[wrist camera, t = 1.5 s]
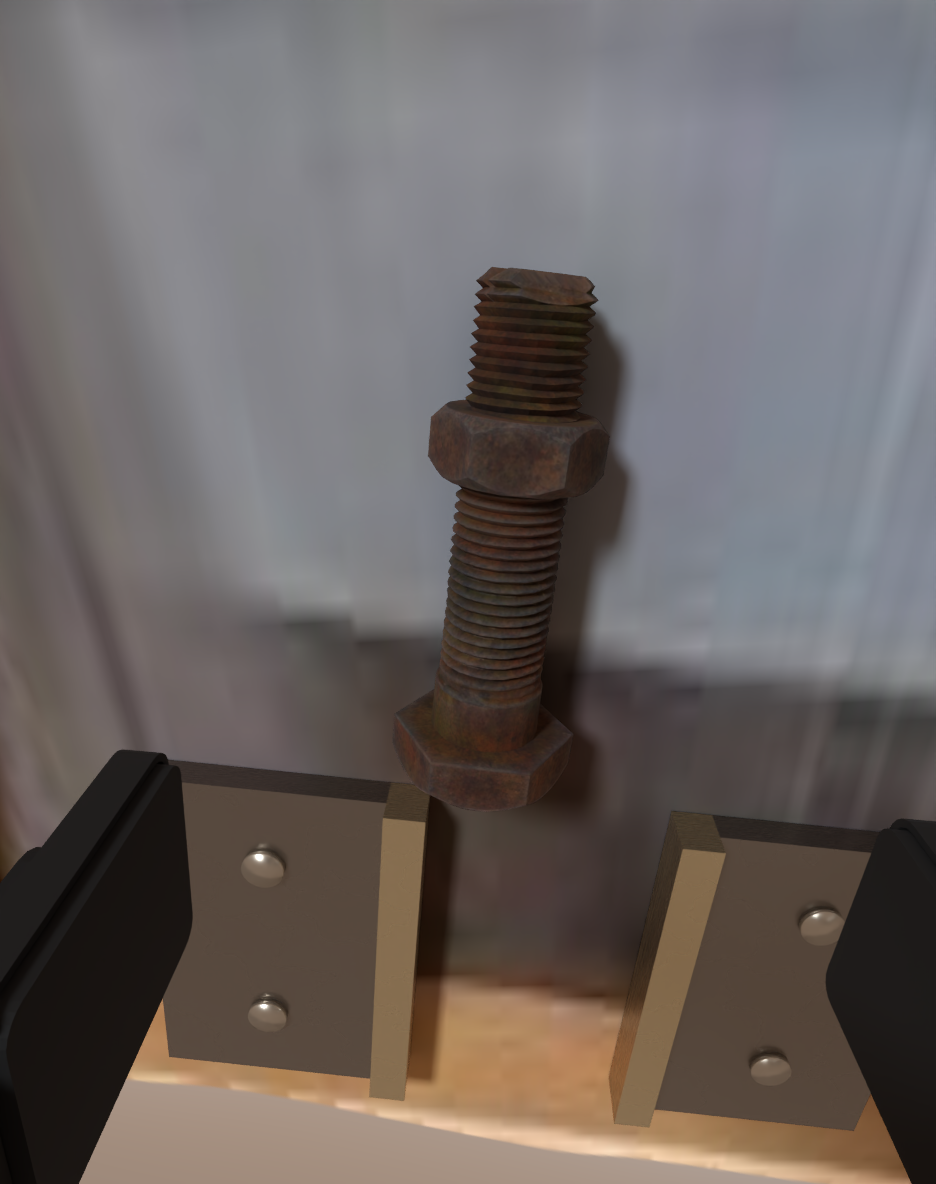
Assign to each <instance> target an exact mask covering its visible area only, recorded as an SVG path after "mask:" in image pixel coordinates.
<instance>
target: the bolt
mask: <svg viewBox="0 0 936 1184" xmlns="http://www.w3.org/2000/svg"><path fill="white" fill-rule="evenodd" d="M476 281H477V282H478V283H479V284H480V285H481V286H482V287H483V289H481V290H480V291H478V292H477V293H476V294H475V295H476V296H477V297H478V298H479V299H480V300H481V301H482V302H481V303H479V304H477V305H475V306H474V307H475V309H476V310H477V311H478V313H479V314H480V316H479V317H477V318H475V319H474V320H473V321H474V322H475V324H476V325H477V326H478V328H479V329H478V330H476V331H474V332H473V333H471V334H472V335H473V336H474V337H475V339H476V340H477V341H478V342H477V343H475V344H474V345H472V346H470V347H471V349H472V350H473V351H474V352H475V353H476V354H477V355H476V356H474V357H472V358H471V359H469V360H470V361H471V362H472V364H473V365H474V366H475V367H476V368H474V369H473V370H471V371H469V372H468V374H469V375H470V376H471V377H472V379H473V380H474V381H472V382H471V383H469V384H467V387H468V388H469V389H470V390H471V391H472V394H470V395H468V396H467V397H466V400H458V401H451V402H449V403H447V404H445V405H444V406H443V407H442V408H441V409H440V410H439V411H438V412H436V413H435V414H434V415H433V416H432V417H431V426H430V439H429V451H428V457H429V458H430V460H431V462H432V463H433V465H434V466H435V468H436V470H437V471H438V472H439V474H440V475H441V476H442V477H443V478H445V479H446V480H448V481H450V482H452V483H454V484H457V485H459V486H460V487H461V488H462V489H460V490H459V491H457V492H456V496H457V497H458V498H459V499H460V501H458V502H456V504H455V508H456V509H457V510H458V511H459V512H457V513H455V515H454V519H455V520H456V521H457V523H456V524H454V526H453V531H454V532H455V533H456V534H455V535H454V536H452V539H451V540H452V542H453V543H454V545H453V547H452V548H451V549H450V551H451V553H452V554H453V555H452V557H451V558H450V560H449V562H450V564H451V565H452V566H451V567H450V569H449V571H448V573H449V575H450V577H449V579H448V586H449V587H448V588H447V591H448V598H447V600H446V602H447V607H446V610H445V614H446V617H445V619H444V629H443V640H442V643H441V644H442V650H441V659H440V667H439V668H438V670H437V672H436V679H435V689H434V690H432V691H430V692H429V693H427V694H426V695H424V696H422V697H421V698H419V699H417V700H416V701H414V702H413V703H411V704H409V705H408V706H406V707H405V708H403V709H401V710H400V711H398V712H396V713H395V714H394V727H393V742H392V743H393V745H394V748H395V751H396V753H397V756H398V759H399V761H400V763H401V765H402V767H403V769H404V770H405V772H406V774H407V775H408V777H409V779H410V780H411V781H412V783H413V784H414V785H415V786H416V787H417V788H419V789H420V790H422V791H423V792H425V793H427V794H429V795H431V796H433V797H435V798H437V799H439V800H441V801H444V802H446V803H448V804H451V805H453V806H456V807H459V808H462V809H467V810H473V811H486V812H487V811H500V810H507V809H512V808H516V807H521V806H526V805H529V804H532V803H535V802H536V801H538V800H539V799H541V798H542V797H543V796H544V795H545V794H546V793H547V792H548V791H549V790H550V789H551V788H552V787H553V785H554V784H555V783H556V781H557V780H558V779H559V777H560V776H561V774H562V772H563V771H564V769H565V767H566V766H567V764H568V762H569V756H570V751H571V745H572V740H573V733H572V732H570V731H569V730H568V729H567V728H566V727H565V726H564V725H563V724H562V723H561V722H560V721H559V720H557V719H556V718H555V717H554V716H553V715H552V714H551V713H550V712H549V711H548V710H547V709H546V708H544V707H543V706H542V705H541V704H540V702H541V694H542V686H543V685H542V681H541V673H542V670H543V667H542V665H543V661H544V653H545V650H546V648H545V645H546V638H547V633H548V631H549V628H548V624H549V622H550V614H551V610H552V602H553V592H554V590H555V584H554V582H555V581H556V578H557V577H556V575H555V572H556V571H557V569H558V563H557V562H558V560H559V557H560V555H559V552H558V551H559V550H560V548H561V543H560V541H559V540H560V539H561V538H562V536H563V534H562V531H561V528H562V527H563V525H564V521H563V519H562V517H564V515H565V513H566V511H565V509H564V507H563V506H565V505H566V504H567V498H568V497H576V496H579V495H582V494H584V493H586V492H588V491H589V490H590V489H591V488H592V487H593V486H594V485H595V484H596V483H597V482H598V481H599V480H600V478H601V477H602V476H603V474H604V468H605V462H606V456H607V450H608V444H609V438H610V436H609V435H608V433H607V432H606V430H605V429H604V428H603V426H602V425H601V423H600V422H599V421H598V420H597V419H596V418H594V417H591V416H589V415H586V414H583V413H579V412H575V411H576V410H577V409H579V408H580V407H582V403H580V402H579V401H578V400H577V399H576V398H578V397H579V396H581V395H582V394H584V391H583V390H582V389H581V388H580V387H579V385H580V384H581V383H583V382H584V381H586V379H585V378H584V377H583V376H582V375H581V374H580V373H581V372H582V371H584V370H585V369H586V368H587V365H586V364H584V363H583V362H582V360H583V359H584V358H585V357H587V356H588V355H589V352H588V351H587V350H586V349H584V348H583V347H585V346H586V345H587V344H588V343H589V342H591V339H590V338H589V337H588V336H587V335H586V333H587V332H588V331H590V330H591V329H592V328H593V327H594V326H593V325H592V324H591V323H590V322H589V321H588V319H590V318H591V317H593V316H594V315H595V314H596V312H595V311H593V310H592V309H591V308H590V307H589V306H591V305H592V304H594V303H595V302H597V301H598V299H597V298H596V297H595V296H594V295H593V294H592V291H593V289H594V287H595V286H594V285H593V284H592V282H591V281H590V280H589V279H588V278H586V277H583V276H575V275H567V274H560V273H552V272H543V271H535V270H527V269H517V268H508V269H505V268H496V267H491V268H490V269H489V270H488V271H487V272H486V273H485V274H484V275H483V276H482V277H480V278H479V279H478V280H476Z"/></svg>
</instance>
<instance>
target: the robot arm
mask: <svg viewBox="0 0 936 1184" xmlns="http://www.w3.org/2000/svg"><path fill="white" fill-rule="evenodd" d="M192 921H193V911H192V899H191V887H190V875H189V863H188V851H187V839H186V827H185V815H184V803H183V791H182V779H181V772H180V769H179V767H178V766H176V765H169V763H168V759H167V757H166V755H165V754H163V753H156V752H144V751H133V750H119V751H117V752H116V753H115V754H114V755H113V756H112V757H111V759H110V760H109V761H108V762H107V764H106V765H105V766H104V768H103V769H102V770H101V771H100V773H99V774H98V775H97V777H96V778H95V779H94V780H93V782H92V783H91V784H90V786H89V787H88V788H87V789H86V791H85V792H84V793H83V795H82V796H81V797H80V798H79V800H78V801H77V802H76V804H75V805H74V806H73V808H72V809H71V810H70V811H69V813H68V814H67V815H66V817H65V818H64V819H63V820H62V822H61V823H60V824H59V826H58V827H57V828H56V829H55V831H54V832H53V833H52V835H51V836H50V837H49V838H48V840H47V841H46V842H45V844H44V845H43V846H42V847H35V848H33V849H31V850H29V851H27V852H26V853H25V854H24V855H23V856H22V857H21V858H20V859H19V860H18V861H17V863H16V864H15V865H14V866H13V868H12V869H11V870H10V871H9V873H8V874H7V875H6V876H5V878H4V879H3V880H2V881H1V883H0V1184H79V1182H80V1180H81V1178H82V1175H83V1173H84V1171H85V1169H86V1166H87V1164H88V1162H89V1160H90V1158H91V1155H92V1153H93V1151H94V1149H95V1147H96V1144H97V1142H98V1140H99V1138H100V1135H101V1133H102V1131H103V1129H104V1127H105V1124H106V1122H107V1120H108V1118H109V1116H110V1113H111V1111H112V1109H113V1107H114V1104H115V1102H116V1100H117V1098H118V1096H119V1093H120V1091H121V1089H122V1087H123V1085H124V1082H125V1080H126V1078H127V1076H128V1074H129V1071H130V1069H131V1067H132V1065H133V1063H134V1060H135V1058H136V1056H137V1054H138V1052H139V1049H140V1047H141V1045H142V1043H143V1040H144V1038H145V1036H146V1034H147V1032H148V1029H149V1027H150V1025H151V1023H152V1021H153V1018H154V1016H155V1014H156V1012H157V1010H158V1007H159V1005H160V1003H161V1001H162V999H163V996H164V994H165V992H166V990H167V987H168V985H169V983H170V981H171V979H172V976H173V974H174V972H175V970H176V968H177V965H178V963H179V961H180V959H181V957H182V954H183V952H184V950H185V948H186V945H187V943H188V940H189V937H190V933H191V928H192ZM825 982H826V991H827V996H828V999H829V1001H830V1004H831V1006H832V1008H833V1011H834V1013H835V1015H836V1017H837V1019H838V1022H839V1024H840V1026H841V1028H842V1031H843V1033H844V1035H845V1037H846V1039H847V1042H848V1044H849V1046H850V1048H851V1050H852V1053H853V1055H854V1057H855V1059H856V1062H857V1064H858V1066H859V1068H860V1070H861V1073H862V1075H863V1077H864V1079H865V1081H866V1084H867V1086H868V1088H869V1090H870V1092H871V1095H872V1097H873V1099H874V1101H875V1104H876V1106H877V1108H878V1110H879V1112H880V1115H881V1117H882V1119H883V1121H884V1123H885V1126H886V1128H887V1130H888V1132H889V1134H890V1137H891V1139H892V1141H893V1143H894V1146H895V1148H896V1150H897V1152H898V1154H899V1157H900V1159H901V1161H902V1163H903V1165H904V1168H905V1170H906V1172H907V1174H908V1177H909V1179H910V1181H911V1183H912V1184H936V822H934V821H923V820H912V819H898V820H896V821H895V822H894V823H893V824H892V825H891V827H890V829H883V830H882V831H881V832H880V833H879V835H878V837H877V839H876V842H875V845H874V847H873V850H872V852H871V855H870V858H869V860H868V863H867V866H866V868H865V871H864V874H863V876H862V879H861V881H860V884H859V887H858V889H857V892H856V895H855V897H854V900H853V902H852V905H851V908H850V910H849V913H848V916H847V918H846V921H845V924H844V926H843V929H842V931H841V934H840V937H839V939H838V942H837V945H836V947H835V950H834V952H833V955H832V958H831V960H830V963H829V966H828V968H827V972H826V981H825Z"/></svg>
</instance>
